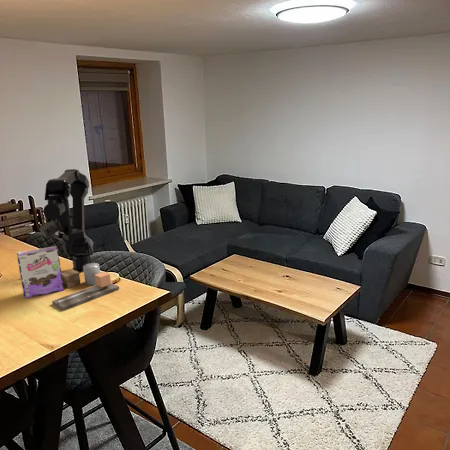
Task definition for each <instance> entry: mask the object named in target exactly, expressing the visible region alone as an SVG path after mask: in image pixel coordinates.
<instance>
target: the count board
mask: <svg viewBox="0 0 450 450" xmlns="http://www.w3.org/2000/svg"><path fill="white" fill-rule="evenodd" d="M119 290H120V286H119V285H117V284H115V283H113V281H111V284H110V285H107V286H104V287H102V288H101V287H99V286H97V285H92V286H90V287H87V288H84V289H82V290H79V291H76V292H73V293H71V294H69V295H67V294H66V295H65V296H63V297H60V298H57V299H55V300H52V301H51V302H52V305H53V306H55V307H57V308H58V309H60V310H62V311H66V310H67V311H68V310H70V309H73V308H74V307H77V306H79V305H82V304H85V303H88V302H90V301H92V300H95V299H98V298H101V297H103V296H106V295H108V294H111V293H114V292H116V291H119Z"/></svg>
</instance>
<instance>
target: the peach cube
mask: <svg viewBox="0 0 450 450" xmlns="http://www.w3.org/2000/svg"><path fill="white" fill-rule="evenodd" d="M94 276H95V284H96V285H97V286H99V287H101V288H102V287H104V286H107V285H110V284H111V282H112V281H111V274H110V273H108V272H106V271H102V272H101V271H100V273H98V274H95V275H94Z"/></svg>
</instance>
